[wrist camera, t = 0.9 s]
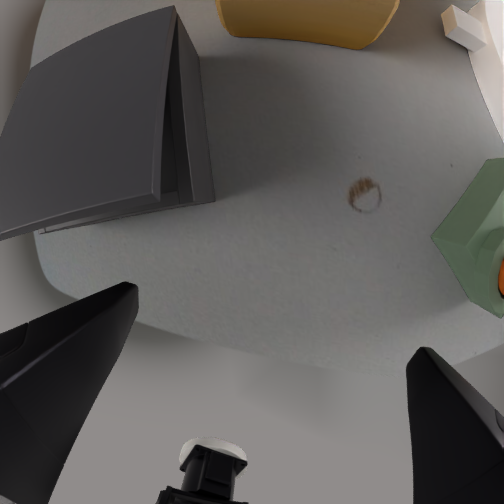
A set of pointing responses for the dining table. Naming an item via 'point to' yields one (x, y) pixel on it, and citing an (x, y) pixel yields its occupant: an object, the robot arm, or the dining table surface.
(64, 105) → the fryer lid
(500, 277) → the button
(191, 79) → the charcoal lidded box
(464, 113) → the dining table surface
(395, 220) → the dining table surface
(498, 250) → the control block
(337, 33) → the bread
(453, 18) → the white circle with bar
